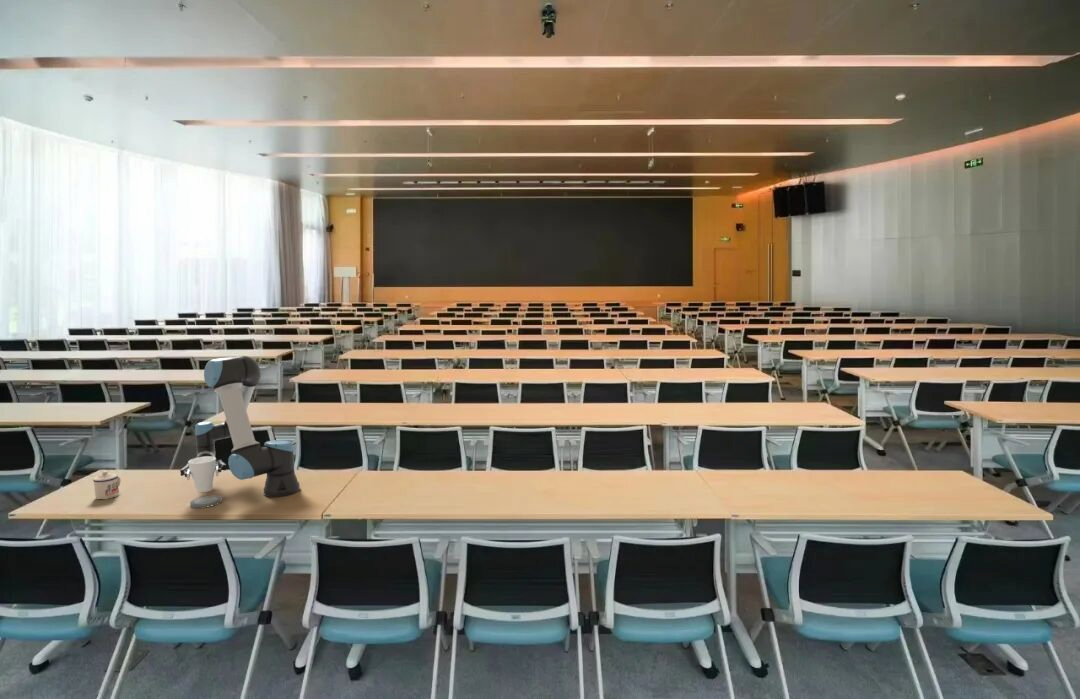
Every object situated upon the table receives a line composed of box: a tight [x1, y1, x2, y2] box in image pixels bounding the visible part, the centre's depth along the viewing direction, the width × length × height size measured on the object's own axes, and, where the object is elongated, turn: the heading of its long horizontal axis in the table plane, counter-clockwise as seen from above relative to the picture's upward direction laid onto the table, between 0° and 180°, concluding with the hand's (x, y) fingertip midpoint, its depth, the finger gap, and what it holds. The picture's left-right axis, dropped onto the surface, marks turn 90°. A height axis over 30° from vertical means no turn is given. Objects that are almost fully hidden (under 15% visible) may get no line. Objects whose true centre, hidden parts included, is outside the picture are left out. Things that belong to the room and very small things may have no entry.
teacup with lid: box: [92, 470, 122, 500], centre depth 280 cm, size 12×9×12 cm
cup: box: [187, 456, 217, 493], centre depth 267 cm, size 10×10×14 cm
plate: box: [189, 495, 223, 509], centre depth 268 cm, size 12×12×1 cm
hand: (202, 475), depth 263 cm, fingers closed on cup, 10 cm apart
